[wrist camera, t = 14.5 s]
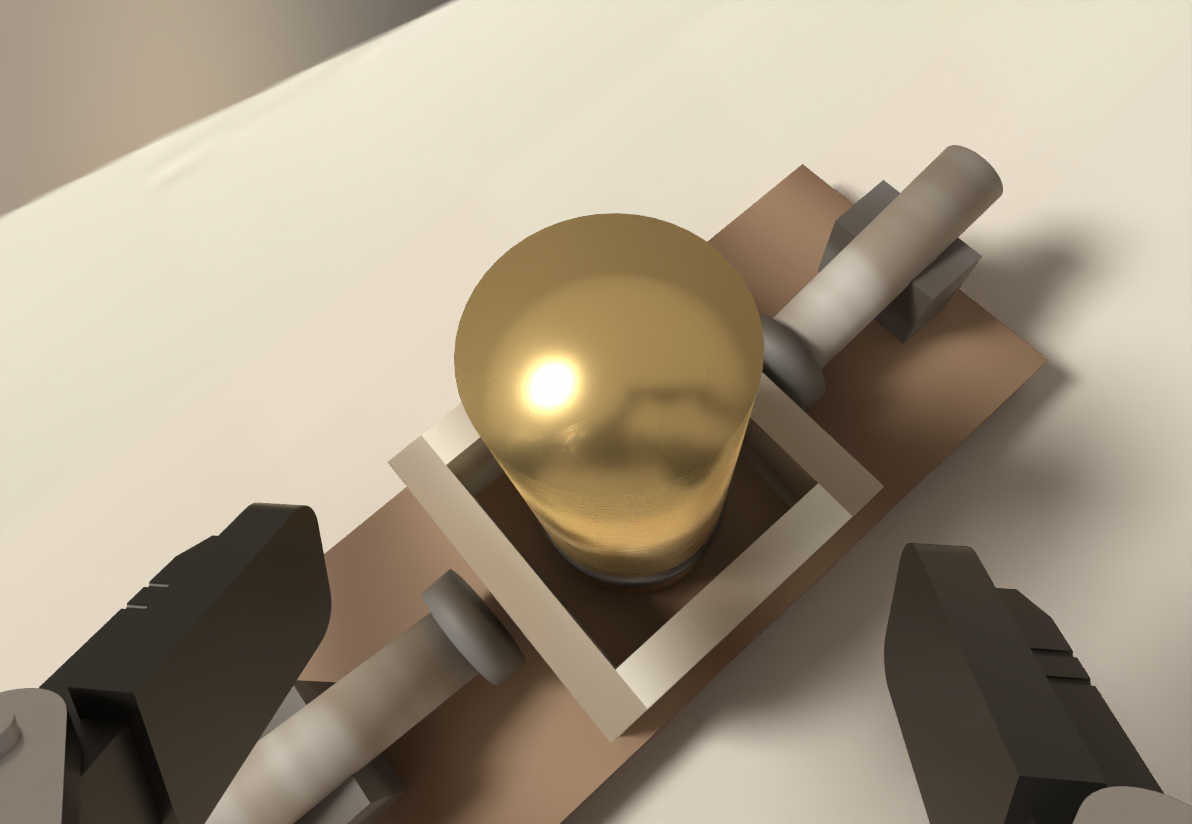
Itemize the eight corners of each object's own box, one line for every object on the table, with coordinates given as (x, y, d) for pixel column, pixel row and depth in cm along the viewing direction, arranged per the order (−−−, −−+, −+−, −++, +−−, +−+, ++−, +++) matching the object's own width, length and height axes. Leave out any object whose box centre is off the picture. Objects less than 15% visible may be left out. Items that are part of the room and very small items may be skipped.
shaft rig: (812, 179, 25) (851, 43, 20) (1042, 364, 22) (1157, 261, 17) (204, 679, 21) (53, 673, 16) (389, 983, 18) (280, 1096, 13)
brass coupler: (640, 397, 21) (621, 159, 12) (756, 515, 20) (837, 352, 11) (515, 502, 21) (389, 337, 11) (626, 634, 19) (588, 569, 10)
